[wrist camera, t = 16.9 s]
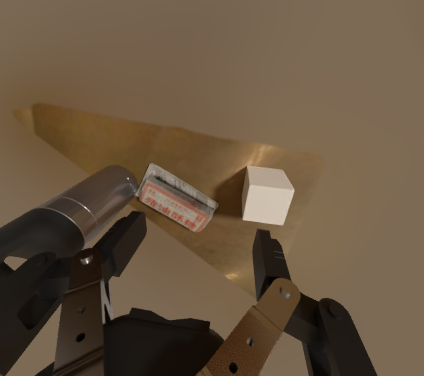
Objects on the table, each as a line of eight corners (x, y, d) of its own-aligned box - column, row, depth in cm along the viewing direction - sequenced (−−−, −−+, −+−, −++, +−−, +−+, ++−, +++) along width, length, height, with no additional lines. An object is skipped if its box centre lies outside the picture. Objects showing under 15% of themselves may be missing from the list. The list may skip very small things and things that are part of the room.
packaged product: (218, 213, 39) (195, 241, 43) (220, 201, 43) (199, 228, 48) (142, 168, 36) (126, 203, 40) (152, 160, 40) (137, 192, 45)
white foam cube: (274, 199, 40) (282, 225, 33) (241, 195, 41) (242, 219, 33) (282, 169, 37) (294, 190, 29) (247, 165, 37) (249, 184, 30)
